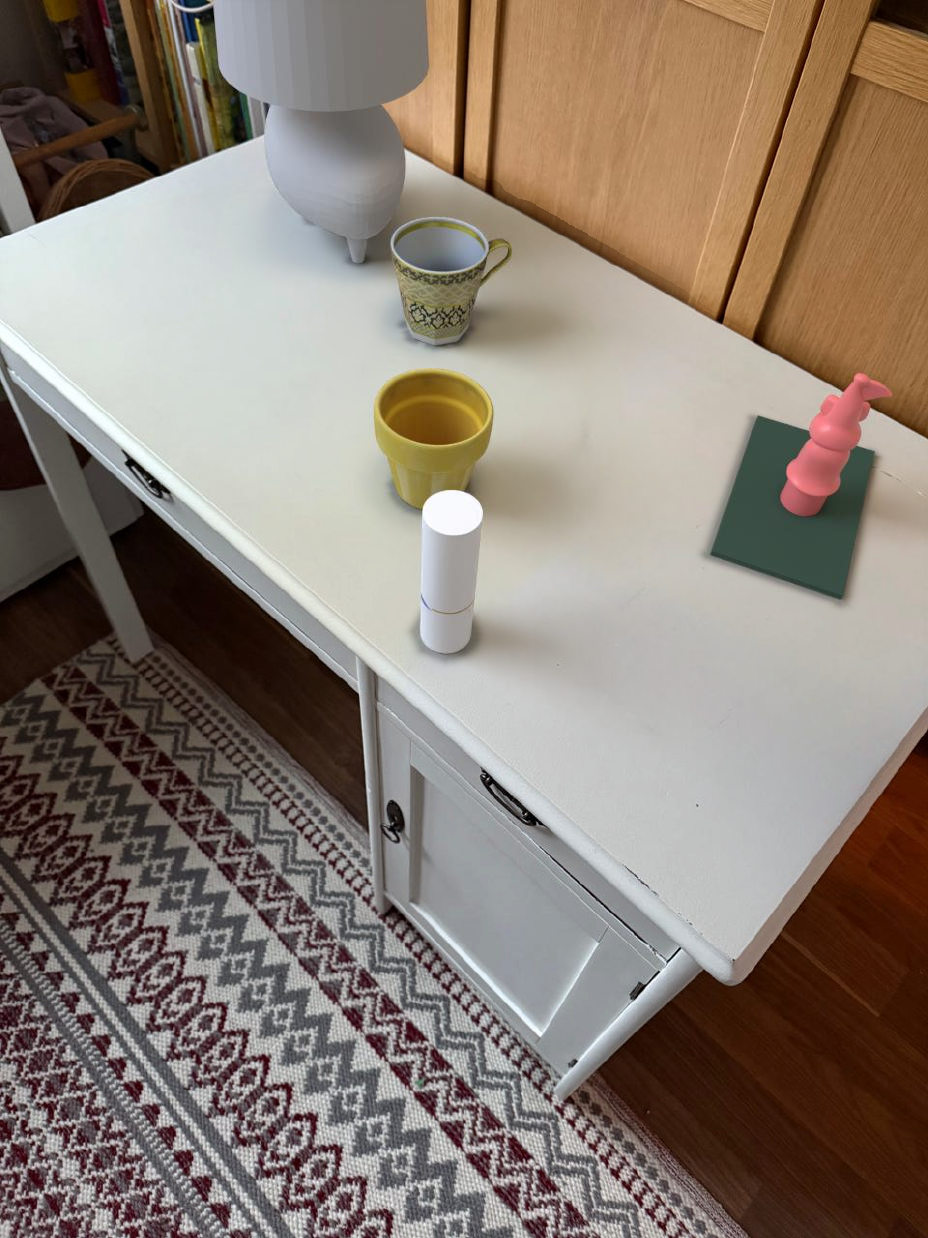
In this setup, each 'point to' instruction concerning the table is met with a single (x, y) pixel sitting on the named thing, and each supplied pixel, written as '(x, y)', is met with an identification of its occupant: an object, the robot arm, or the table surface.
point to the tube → (449, 569)
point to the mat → (791, 514)
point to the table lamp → (329, 100)
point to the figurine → (829, 446)
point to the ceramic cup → (441, 275)
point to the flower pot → (432, 431)
